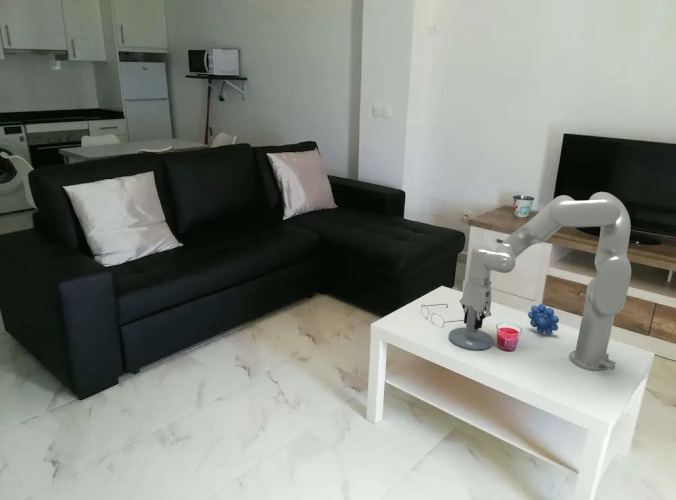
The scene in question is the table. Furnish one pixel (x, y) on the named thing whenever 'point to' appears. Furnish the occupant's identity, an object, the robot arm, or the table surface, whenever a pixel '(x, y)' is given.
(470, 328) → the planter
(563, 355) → the table surface
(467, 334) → the dish
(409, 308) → the table surface
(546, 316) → the grapes
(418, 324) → the table surface
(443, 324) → the eyeglasses
